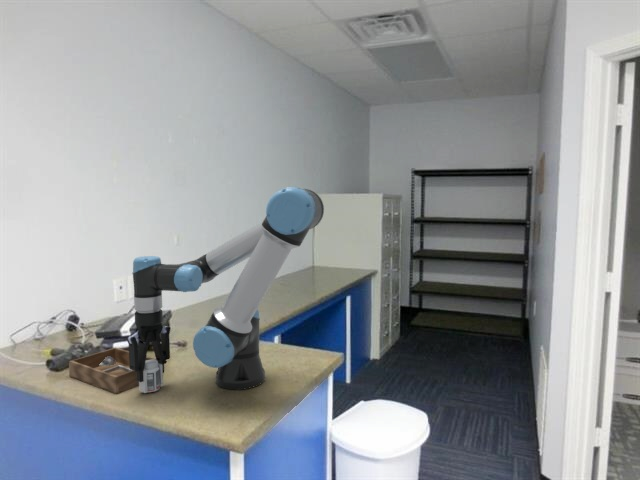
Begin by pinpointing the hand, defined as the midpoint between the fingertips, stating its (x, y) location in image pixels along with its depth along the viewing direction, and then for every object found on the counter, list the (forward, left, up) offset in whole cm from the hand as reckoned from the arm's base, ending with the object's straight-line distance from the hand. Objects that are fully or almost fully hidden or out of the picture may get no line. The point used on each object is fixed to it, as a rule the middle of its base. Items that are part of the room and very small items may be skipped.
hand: (151, 388), depth 131 cm
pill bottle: (0, 0, -1) cm, 1 cm away
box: (+18, -1, -1) cm, 18 cm away
